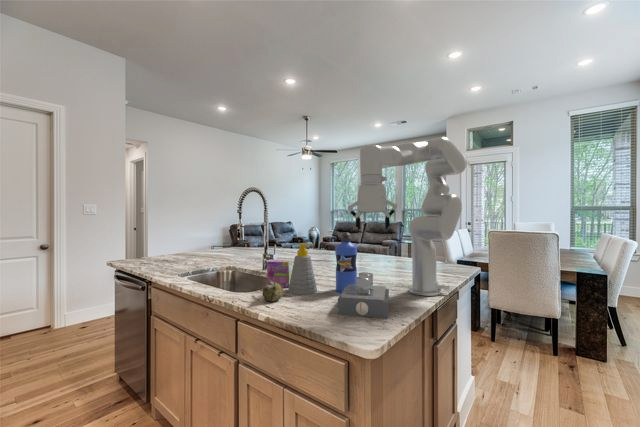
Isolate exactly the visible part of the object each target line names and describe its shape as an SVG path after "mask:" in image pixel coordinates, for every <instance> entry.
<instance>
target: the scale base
mask: <svg viewBox="0 0 640 427" xmlns="http://www.w3.org/2000/svg"><path fill="white" fill-rule="evenodd" d="M345 288H346V287H345ZM343 291H344V290H343ZM341 294H342V293H340V295H339V296H338V298H337V315H344V316H345V315H347V316H360V317H369V318H372V317H373V318H382V319H388V318H389V309H390V308H389V306H390V290H389V289H388V288H386V293H385V301H379V300H364V299H349V298H341Z"/></svg>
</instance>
